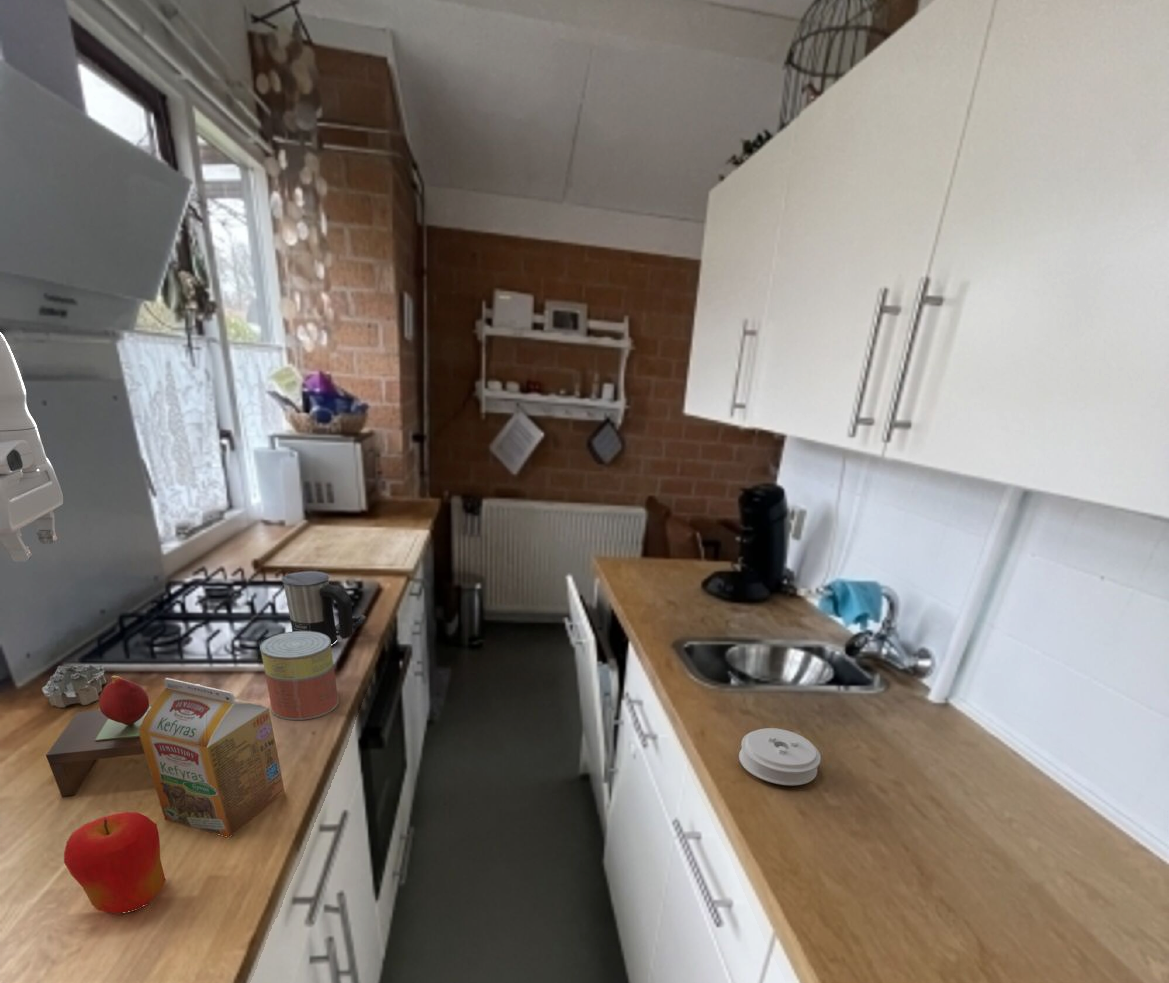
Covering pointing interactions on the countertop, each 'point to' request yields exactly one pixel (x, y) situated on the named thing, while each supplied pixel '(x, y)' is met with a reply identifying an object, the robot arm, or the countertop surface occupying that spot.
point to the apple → (117, 861)
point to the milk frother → (319, 605)
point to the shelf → (90, 747)
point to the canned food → (300, 674)
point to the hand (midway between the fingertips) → (36, 550)
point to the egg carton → (74, 685)
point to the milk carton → (210, 757)
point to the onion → (123, 701)
